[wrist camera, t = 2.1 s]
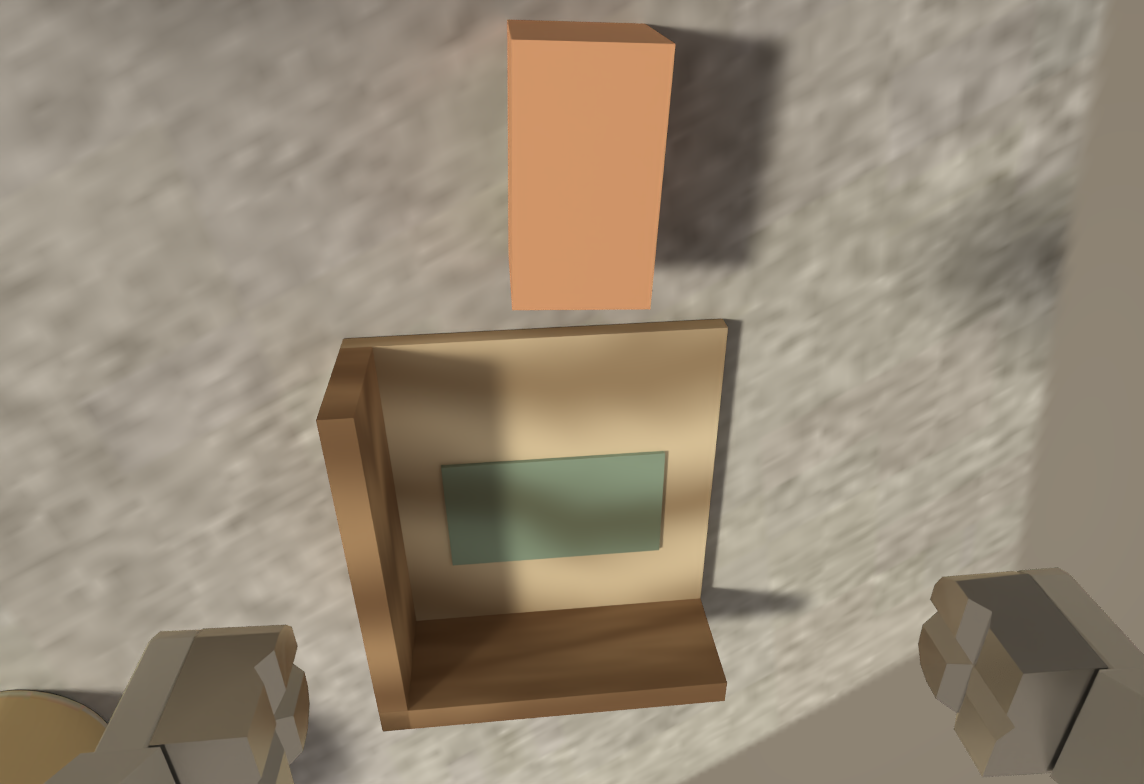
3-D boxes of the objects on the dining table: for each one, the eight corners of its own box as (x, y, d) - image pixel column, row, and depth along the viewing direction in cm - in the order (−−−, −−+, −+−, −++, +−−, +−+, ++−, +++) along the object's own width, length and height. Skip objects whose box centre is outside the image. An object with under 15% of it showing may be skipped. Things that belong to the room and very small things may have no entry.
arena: (343, 338, 31) (316, 420, 26) (722, 318, 32) (766, 393, 27) (395, 627, 39) (382, 731, 34) (694, 603, 40) (724, 700, 35)
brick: (507, 19, 25) (511, 39, 21) (644, 23, 26) (675, 44, 22) (508, 253, 30) (512, 309, 25) (626, 253, 30) (650, 309, 26)
